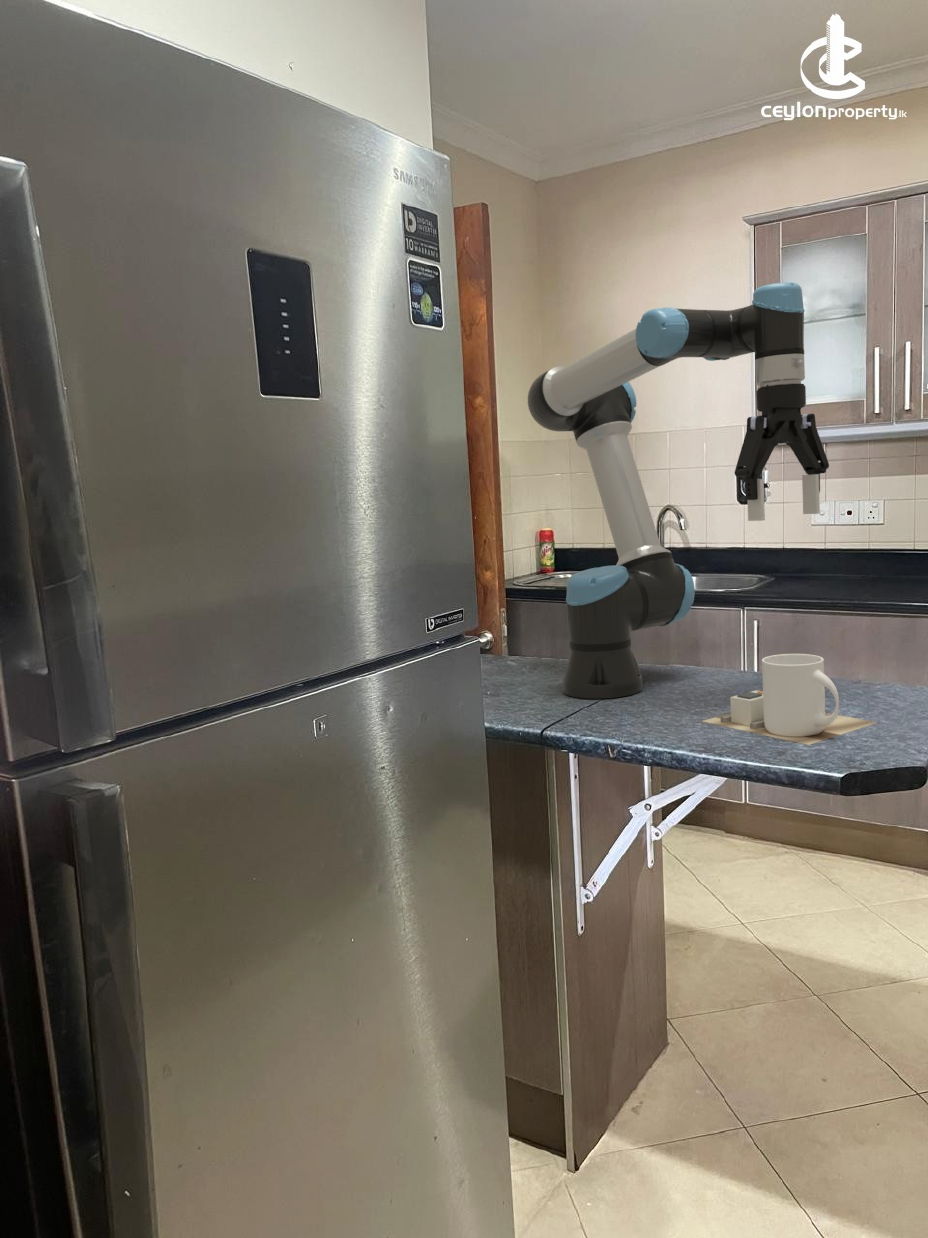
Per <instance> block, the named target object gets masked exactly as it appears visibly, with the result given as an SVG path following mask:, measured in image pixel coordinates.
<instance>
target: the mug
mask: <svg viewBox="0 0 928 1238" xmlns="http://www.w3.org/2000/svg"><path fill="white" fill-rule="evenodd" d="M761 673H762V675H761V677H762V691H763V708H764V725H765V728H766V730H767V731H768V732H770V733H772V734H775V735H780V736H788V737H804V736H811V735H816V734H819V733H821V732H822V731H823V730H824V728H825V726H827V725H829V724H831V723H832V722H833V721H834V720H835V719H836V717H837V715H839V710H840V709H839V708H840V698H839V697H840V696H839V691H838V689H837V687H836V685H835V684H834V682H833V681H832V680H831V678H829V676H827V675H826V674H825V659H824V658H823V657H822V656H819V655H815V654H808V653H781V654H774V655H768V656H766V657H763V658H762V659H761ZM825 688H827V690H829V691H830V692H831V694H832V696H833V698H834V700H835V708H834V711H833V712H832V713H831V714H832V715H830V716H825V713H826V696H825V695H826V692H825V691H826V690H825Z"/></svg>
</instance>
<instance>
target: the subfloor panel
mask: <svg viewBox="0 0 928 1238" xmlns="http://www.w3.org/2000/svg"><path fill="white" fill-rule="evenodd" d="M832 714H833V713H828V712H825V716H830V715H832ZM701 722H702V723H706V724H712V725H716V726H721V727H723V728H724V727H726V728H729V729H735V730H739V731H743V732H747V733H748V732H749V733H753V734H756V735H761V736H765V737H769V738H775V739H779V740H782V741H787V742H791V743H797V744H801V745H806V746H811V745H814V744H817V743H821V742H823V741H826V740H829V739H832V738H835V737H839V736H841V735H844V734H848V733H851V732H854V731H856V730H860V729H864V728H866V727H869V726H872V725H876V724H878V723H879V722H878V721H873V720H867V719H866V720H865V719H861V718H856V717H849V716H845V715H840V714H837V717H836V719H835V720H834V721H833V722H832V723H831V724H829V725H827V726H825V728H824V730H823V731H822V732H821V733H819V734H816V735H811V736H804V737H788V736H780V735H775V734H772V733H770V732H768V731H767V730H766V728H765V725H764V719H763V720H760V721H756V722H753V723H750V726H747V725H742V724H737V723H733V722H731V712H729V713H726V714H722V715H718V716H714V717H712V718H708V719H704V720H702V721H701Z"/></svg>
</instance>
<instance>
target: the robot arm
mask: <svg viewBox="0 0 928 1238" xmlns="http://www.w3.org/2000/svg"><path fill="white" fill-rule="evenodd" d="M803 300H804V299H803V290H802V287H801V286H800V284H798V283H797V282H796V283H795V282H787V281H785V282H776V283H775V282H774V283H770V284H766V285H762V286H759V287H758V288H756V289H755V290H754V291H753V293H752V301H751V303H752V304H750V305H747V306H744V307H740V308H739V307H738V308H735V309H732V310H731V309H730V310H725V309H724V310H723V309H721V310H720V309H717V310H716V309H692V308H675V307H660V308H652V309H649V310H647V311H646V312H644V313H643V314H642V315H641V319H640V320H639V321H638V322H637V325H636V327H635V328H634V329H632V330H631V331H628V332H627V333H624V334H623V335H622V336H620V337H618V338H616V339H615V340H612V341H610V342H609V343H607V344H605V345H603V346H601V347H600V348H598V349H596V350H594V351H593V352H591V353H589V354H587V355H585V356H584V357H581V358H579V359H578V360H575V361H574V362H573V363H571V364H569V365H567V366H562V365H557V366H554V367H552V368H550V369H548V370H546V371H545V372H543V373H542V374H540V375H539V376H538V377H536V379H535V380H534V381H533V382H532V383H531V386H530V388H529V390H528V393H527V406H528V411H529V413H530V415H531V417H532V418H533V420H534V421H535V422H536V423H537V424H538V425H539V426H540V427H542V428H544V429H547V430H549V431H552V432H573V436H574V439H575V441H576V442H575V443H576V445H577V447H579V448H581V449H583V450H586V453H587V456H588V459H589V463H590V466H591V469H592V473H593V476H594V479H595V483H596V486H597V489H598V492H599V496H600V501H601V503H602V506H603V509H604V513H605V516H606V521H607V524H608V526H609V529H610V530H609V531H610V533H611V536H612V540H613V544H614V547H615V550H616V554H617V557H618V561H617V563H616V565H605V566H600V567H593V568H592V567H591V568H588V569H585V570H580V571H578V572H576V573H574V574H572V575H571V576H570V577H569V578H568V579H567V580H566V581H567V582H566V598H565V602H566V604H567V607H566V608H567V621H568V636H569V638H568V639H569V650H570V651H569V657H568V661H567V665H566V670H565V675H564V678H563V682H562V687H563V688H562V689H563V694H565V695H567V696H569V697H573V698H578V699H579V698H580V699H594V700H595V699H597V700H598V699H600V700H601V699H614V698H621V697H626V696H627V697H628V696H631V695H635V694H638V693H639V692H642V691H643V689H644V685H643V676H642V673H640V670H639V666H638V663H637V660H636V658H635V656H634V652H633V650H632V636H631V635H632V634H631V632H635V631H640V630H645V629H650V628H651V629H652V628H655V627H666V626H668V625H670V624H674V623H678V622H679V621H681V620H683V619H684V618H686V617H687V615H688V614H689V612H690V611H691V608H692V605H693V604H694V602H695V601H694V600H695V593H696V590H695V583H694V582H695V581H694V579H693V577H692V574H691V572H690V571H689V570H688V569H687V568H685V566H683V565H681V564H679V563H675V560H674V558H673V554H672V551H671V550H669V549H666V548H665V547H663V546H662V545H661V543H660V539H659V535H658V533H657V530H656V526H655V522H654V519H653V516H652V513H651V510H650V506H649V503H648V499H647V497H646V494H645V490H644V487H643V484H642V481H641V477H640V474H639V470H638V467H637V465H636V461H635V460H636V459H635V457H634V454H633V452H632V448H631V445H630V442H629V438H628V436H629V434H630V433H631V430H632V428H633V426H632V422H633V420H634V419H635V416H636V413H637V412H636V411H637V410H636V409H635V408H636V407H637V398H636V393H635V390H634V388H633V386H632V385H631V383H630V382H631V381H633V380H635V379H637V378H639V377H640V376H641V377H642V376H643V375H645V374H647V373H649V372H651V371H653V370H655V369H657V368H659V367H661V366H665V365H666V364H669V363H671V362H672V361H675V360H677V359H680V358H703V359H704V360H706V361H711V362H713V361H727V360H729V359H731V358H734V357H735V358H736V357H739V356H743V355H747V354H751V353H752V354H753V353H754V359H755V361H754V365H755V366H754V367H755V369H754V370H755V384H756V385H757V386H759V388H757V390H756V410H757V412H761V415H755V416H748V417H747V419H746V430H745V431H746V432H745V435H744V439H743V442H742V445H741V448H740V453H739V454H738V455H739V456H738V458H737V463H736V466H735V470H734V476H735V477H738V478H739V480H740V481H744V483H745V484H744V485H745V488H744V489H745V499H746V501H747V521H748V522H750V521H751V522H755V521H756V522H758V521H759V522H760V521H765V520H766V518H765V517H766V515H765V511H766V510H765V487H764V485H765V483H764V478H760V476H761V474H762V473H763V470H764V468H765V467H766V465H767V462H768V461H769V459H770V457H771V455H772V453H773V451H774V449H775V447H776V446H778V445H779V444H785V445H786V446H788V447H790V448H791V451H792V452H793V453H794V455H795V458H796V459H797V461H798V462H799V464H800V465H801V467H802V469H803V471H804V473H805V474H803V475H801V477H802V478H801V480H802V483H801V486H802V512H803V513H802V514H803V515H818V514H821V513H820V512H821V511H820V510H821V509H820V504H821V503H820V502H821V501H820V493H821V492H820V491H821V475H820V474H825V473H826V471H827V469H828V470H829V467H830V464H829V460H828V457H827V454H826V452H825V448H824V446H823V443H822V441H821V438H820V435H819V432H818V429H817V424H816V415H815V413H807V414H806V413H805V414H802V412H801V409H803V408H804V407H805V406H806V405H807V393H806V391H807V390H806V389H807V388H806V385H805V384H804V383H802V382H803V381H804V380H805V378H806V375H805V374H806V371H805V369H806V368H805V348H804V347H805V346H804V345H805V343H804V342H805V341H804V340H805V339H804V334H805V333H804V332H805V331H804V330H805V329H804V328H805V321H804V320H805V318H804V317H805V308H804V301H803ZM759 478H760V479H759Z"/></svg>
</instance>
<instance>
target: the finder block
mask: <svg viewBox="0 0 928 1238" xmlns="http://www.w3.org/2000/svg"><path fill="white" fill-rule="evenodd" d="M729 700H730V701H729V702H730V713H731V722H733V723H737V724H742V725H747V726H750V723H753V722H756V721H760V720H763V719H764V708H763V690H752V691H748V692H744V693H740V694H737V695H733V696H730V699H729Z"/></svg>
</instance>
